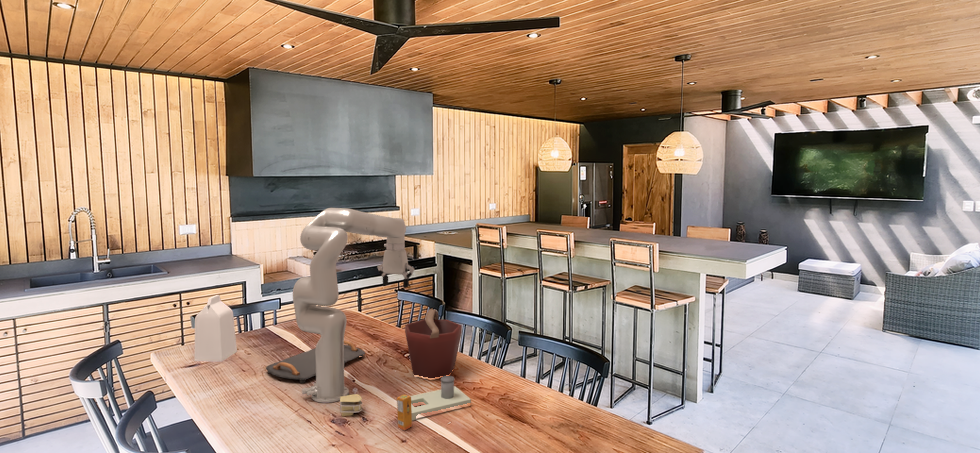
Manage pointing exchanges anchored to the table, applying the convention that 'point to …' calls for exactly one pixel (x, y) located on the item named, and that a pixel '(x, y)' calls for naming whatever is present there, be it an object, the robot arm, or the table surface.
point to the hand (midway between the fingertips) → (395, 286)
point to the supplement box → (404, 412)
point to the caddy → (439, 398)
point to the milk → (214, 332)
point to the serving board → (307, 363)
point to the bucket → (433, 345)
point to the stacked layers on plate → (350, 404)
